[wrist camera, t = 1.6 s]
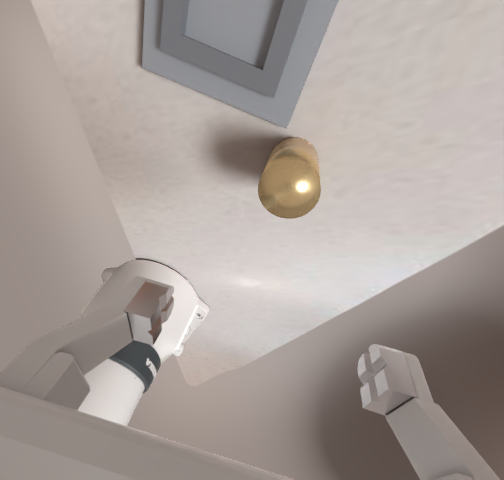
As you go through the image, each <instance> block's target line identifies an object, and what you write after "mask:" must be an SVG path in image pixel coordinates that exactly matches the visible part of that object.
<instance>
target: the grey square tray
mask: <svg viewBox="0 0 504 480" xmlns="http://www.w3.org/2000/svg"><path fill="white" fill-rule="evenodd" d="M337 2H338V0H145V9H144V32H143V55H142V68H144V69H147V70H149V71H151V72H154V73H156V74H158V75H161V76H163V77H166V78H168V79H170V80H173V81H175V82H177V83H180V84H182V85H184V86H187V87H189V88H192V89H194V90H196V91H199V92H201V93H203V94H206V95H208V96H210V97H213V98H215V99H218V100H220V101H222V102H225V103H227V104H229V105H232V106H234V107H236V108H239V109H241V110H244V111H246V112H248V113H251V114H253V115H255V116H258V117H260V118H262V119H265V120H267V121H270V122H272V123H274V124H277V125H279V126H281V127H284V128H287V126H288V123H289V121H290V119H291V116H292V114H293V111H294V109H295V106H296V104H297V101H298V99H299V96H300V94H301V91H302V89H303V86H304V84H305V81H306V79H307V77H308V74H309V72H310V69H311V67H312V64H313V62H314V59H315V57H316V54H317V52H318V49H319V47H320V44H321V42H322V39H323V37H324V35H325V32H326V30H327V27H328V25H329V22H330V20H331V17H332V15H333V12H334V10H335V7H336V5H337Z"/></svg>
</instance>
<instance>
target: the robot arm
mask: <svg viewBox="0 0 504 480" xmlns="http://www.w3.org/2000/svg"><path fill="white" fill-rule="evenodd" d="M102 279H103V282H104V283H103V284H102V285H101V287H100V288H99V289H98V291H97V292H96V293H95V294H94V296H93V297H92V298H91V299H90V301H89V302H88V303H87V305H86V306H85V307H84V308H83V310H82V312H81V316H82V318H80V319H78V320H76V321H73V322H71V323H69V324H67V325H65V326H63V327H61V328H59V329H57V330H54V331H52V332H50V333H48V334H46V335H44V336H42V337H40V338H38V339H36V340H33V341H32V342H31V343H30V344H29V345H28V346H27V347H26V348H25V349H24V350H23V351H22V352H21V353H20V354H19V355H18V356H17V357H16V358H15V359H14V360H13V361H12V362H11V363H10V364H9V365H8V366H7V367H6V368H5V369H4V370H3V371H2V372H1V373H0V480H296V479H293V478H289V477H286V476H283V475H280V474H277V473H273V472H270V471H267V470H264V469H261V468H258V467H255V466H251V465H248V464H245V463H242V462H239V461H235V460H232V459H229V458H226V457H223V456H220V455H217V454H214V453H210V452H207V451H204V450H201V449H198V448H194V447H191V446H188V445H185V444H182V443H178V442H175V441H172V440H169V439H166V438H163V437H160V436H157V435H154V434H150V433H147V432H144V431H140V430H138V429H135V428H131V427H128V426H127V424H128V422H129V420H130V418H131V416H132V414H133V412H134V410H135V408H136V406H137V404H138V402H139V400H140V397H141V395H142V394H143V393H145V392H146V391H147V390H148V388H149V387H150V385H151V384H152V382H153V381H154V379H155V377H156V373H157V372H158V370H159V368H160V365H161V363H163V362H164V361H165V360H166V359H167V358H168V357H169V356H170V355H171V354H173V355H175V356H177V357H179V356H180V354H181V352H182V350H183V348H184V346H185V344H184V342H185V341H186V340H187V338H188V337H189V336H190V335H191V334H192V332H193V331H194V330H195V329H196V328H197V326H198V325H199V324H200V323H201V322H202V320H203V319H204V318H205V317H206V316H207V314H208V312H209V308H208V306H207V305H206V304H205V303H204V302H203V301H201V300H200V299H199V298H198V296H197V295H196V293H195V291H194V289H193V288H192V286H191V285H190V284H189V282H188V281H187V280H186V279H185V278H183V277H182V276H181V275H180V274H178V273H177V272H175V271H174V270H172V269H170V268H169V267H166V266H164V265H162V264H159V263H156V262H152V261H147V260H133V261H129V262H127V263H124V264H123V265H121V266H120V267H118V268H108V269H106V270H105V271H104V272H103V273H102ZM369 351H370V352H368V353H364V354H363V355H362V356H361V357H360V359H359V363H358V376H359V378H360V380H361V381H362V383H363V386H362V387H361V390H360V391H361V397H362V404H363V408H364V409H367V410H370V411H373V412H376V413H379V414H382V415H385V417H386V419H387V421H388V423H389V424H390V426H391V428H392V430H393V432H394V434H395V435H396V437H397V439H398V441H399V443H400V444H401V446H402V448H403V449H404V451H405V453H406V455H407V457H408V458H409V460H410V462H411V464H412V466H413V467H414V469H415V471H416V473H417V475H418V476H419V478H420V480H500V479H499V478H498V477H497V475H496V474H495V473H494V472H493V470H492V469H491V468H490V467H489V466H488V464H487V463H486V462H485V461H484V460H483V458H482V457H481V456H480V455H479V454H478V453H477V451H476V450H475V449H474V447H473V446H472V445H471V444H470V443H469V441H468V440H467V439H466V438H465V437H464V435H463V434H462V433H461V432H460V431H459V429H458V428H457V427H456V426H455V424H454V423H453V422H452V421H451V420H450V419H449V417H448V416H447V415H446V414H445V412H444V411H443V410H442V409H441V408H440V406H439V405H437V404H435V403H434V402H433V399H432V396H431V394H430V391H429V388H428V385H427V382H426V380H425V377H424V374H423V371H422V368H421V366H420V363H419V360H418V358H417V357H416V356H415V355H412V354H409V353H405V352H401V351H399V350H396V349H392V348H388V347H384V346H381V345H377V344H373V345H371V346H370V347H369Z"/></svg>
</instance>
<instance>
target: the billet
mask: <svg viewBox="0 0 504 480" xmlns="http://www.w3.org/2000/svg"><path fill="white" fill-rule="evenodd" d="M320 192H321V187H320V175H319V163H318V155H317V152H316V150H315V148H314V147H313V145H312V144H311V143H309V142H308V141H306V140H304V139H301V138H288V139H285V140H283V141H281V142H280V143H278V144H277V145H276V146H275V147H274V149H273V150H272V152H271V155H270V157H269V159H268V162H267V164H266V167H265V169H264V172H263V174H262V176H261V179H260V182H259V186H258V194H259V198H260V201H261V203H262V204H263V206H264V207H265V208H266V209H267V210H268V211H269V212H270V213H272V214H274V215H276V216H278V217H282V218H297V217H301V216H303V215H305V214H307V213H308V212H310V211H311V210H312V209H313V208H314V207H315V205H316V204H317V202H318V200H319V197H320Z"/></svg>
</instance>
